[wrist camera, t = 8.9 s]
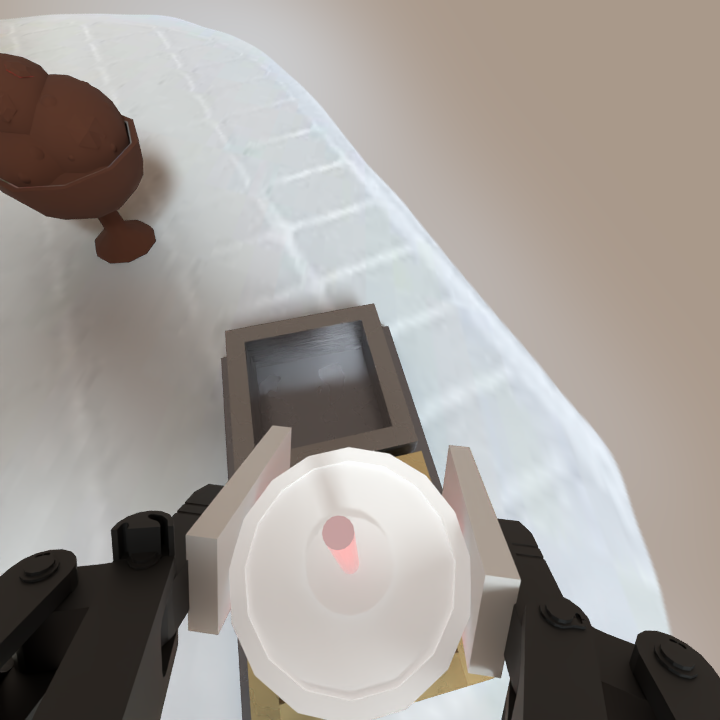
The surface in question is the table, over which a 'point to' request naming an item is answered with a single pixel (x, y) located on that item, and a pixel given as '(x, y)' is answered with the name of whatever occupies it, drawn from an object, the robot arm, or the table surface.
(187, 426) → the table surface
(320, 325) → the square compartment tray
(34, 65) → the ice cream bowl
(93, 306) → the table surface
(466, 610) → the beverage cup
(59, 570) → the robot arm
